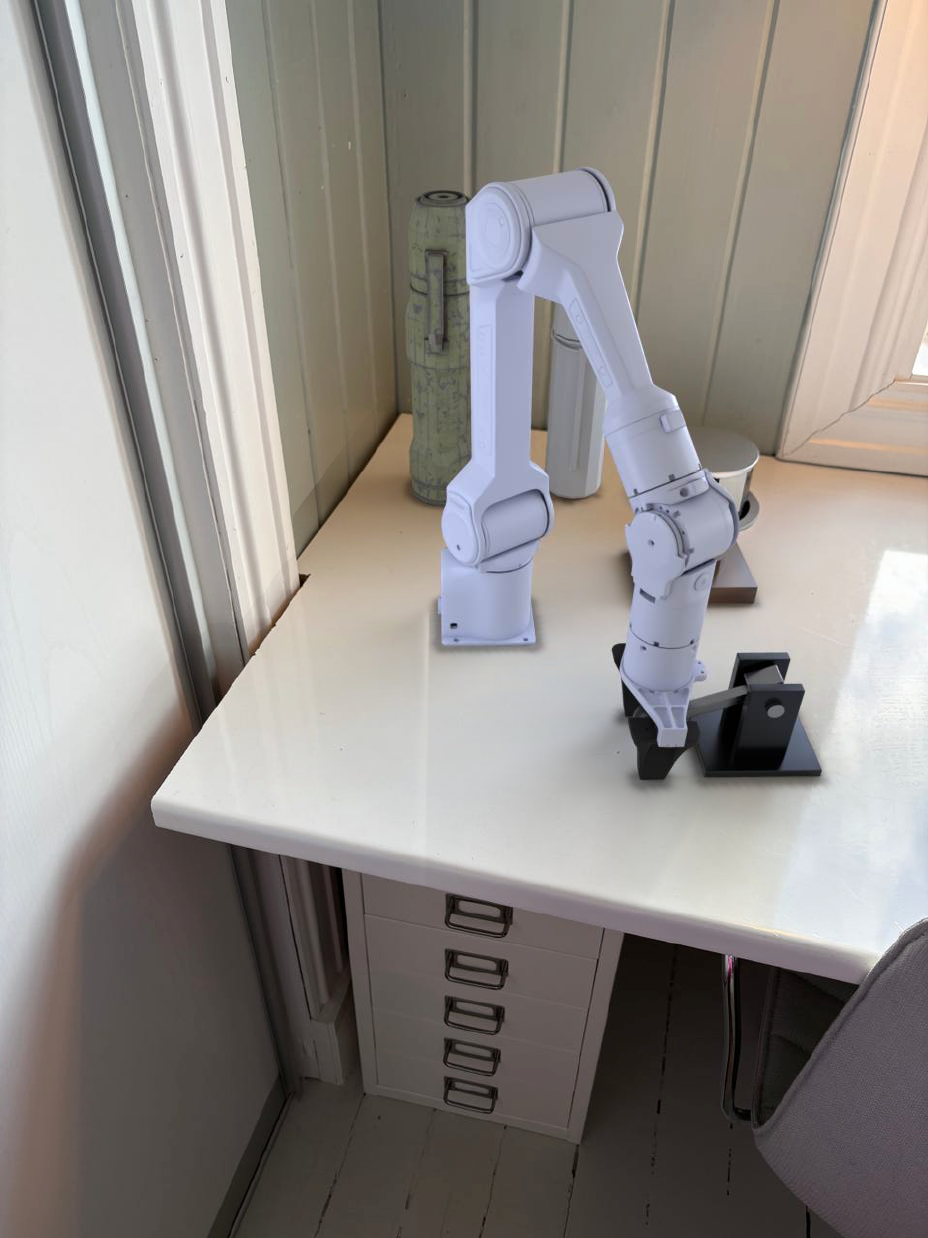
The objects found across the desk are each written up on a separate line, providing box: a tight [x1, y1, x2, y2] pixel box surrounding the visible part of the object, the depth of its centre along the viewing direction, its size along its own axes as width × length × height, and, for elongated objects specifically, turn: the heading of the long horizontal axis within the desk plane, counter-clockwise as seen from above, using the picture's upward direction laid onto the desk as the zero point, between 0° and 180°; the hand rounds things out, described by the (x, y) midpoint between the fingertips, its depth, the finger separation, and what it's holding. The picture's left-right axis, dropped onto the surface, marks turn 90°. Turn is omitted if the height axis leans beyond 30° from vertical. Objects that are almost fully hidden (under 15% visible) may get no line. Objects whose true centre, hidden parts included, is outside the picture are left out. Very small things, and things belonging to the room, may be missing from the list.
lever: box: [633, 665, 785, 720], centre depth 80 cm, size 13×3×3 cm, turn 91°
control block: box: [627, 540, 759, 605], centre depth 102 cm, size 12×10×4 cm
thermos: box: [404, 189, 473, 507], centre depth 108 cm, size 9×12×35 cm
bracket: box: [686, 651, 823, 779], centre depth 80 cm, size 10×8×9 cm
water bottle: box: [544, 303, 608, 500], centre depth 110 cm, size 9×8×25 cm
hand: (643, 746), depth 83 cm, fingers open, 7 cm apart
